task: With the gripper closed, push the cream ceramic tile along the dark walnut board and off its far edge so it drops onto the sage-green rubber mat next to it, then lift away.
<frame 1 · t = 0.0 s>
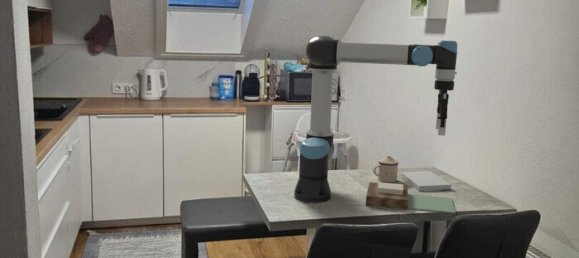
hand: (440, 132, 213), 28 cm above the table, tool pointing down, fingers open, 13 cm apart
ceramic tile: (390, 190, 213), point 4 cm above the table, touching walnut board
rubber mat: (430, 204, 211), on the table
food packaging: (424, 185, 239), on the table
walnut board: (387, 200, 214), on the table
teacup with lid: (384, 180, 243), on the table
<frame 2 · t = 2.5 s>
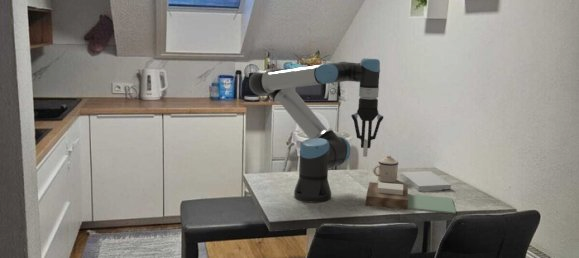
hand: (365, 155, 213), 18 cm above the table, tool pointing down, fingers closed
nothing on the table moved.
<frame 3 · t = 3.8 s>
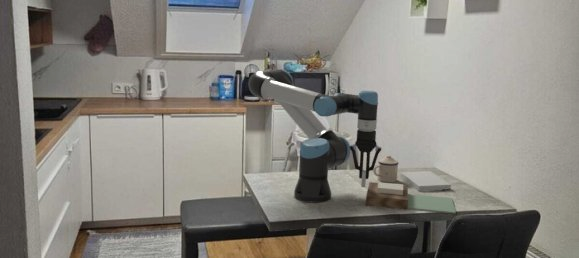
hand: (363, 186, 215), 5 cm above the table, tool pointing down, fingers closed
nothing on the table moved.
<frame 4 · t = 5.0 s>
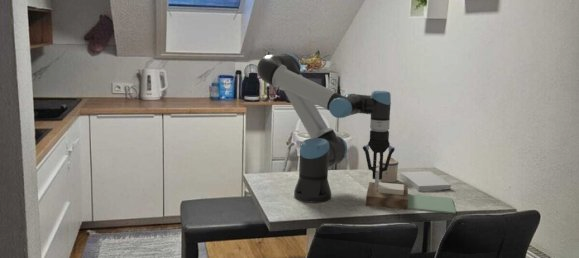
hand: (376, 186, 214), 5 cm above the table, tool pointing down, fingers closed
ceramic tile: (390, 190, 213), point 4 cm above the table, touching gripper, walnut board
everything else where it was.
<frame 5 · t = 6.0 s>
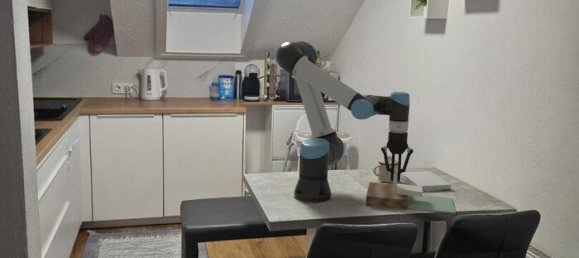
hand: (394, 188, 213), 5 cm above the table, tool pointing down, fingers closed
ceramic tile: (408, 192, 212), point 4 cm above the table, touching gripper, walnut board
everything else where it was.
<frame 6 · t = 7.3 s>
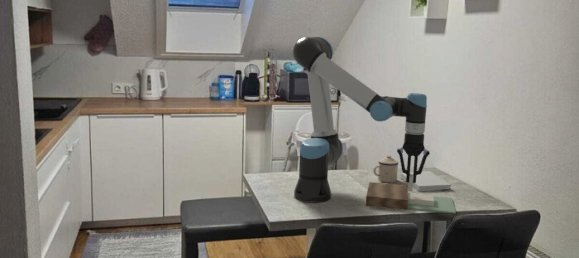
hand: (410, 190, 212), 5 cm above the table, tool pointing down, fingers closed
ceramic tile: (420, 201, 212), point 1 cm above the table, touching rubber mat
everything else where it was.
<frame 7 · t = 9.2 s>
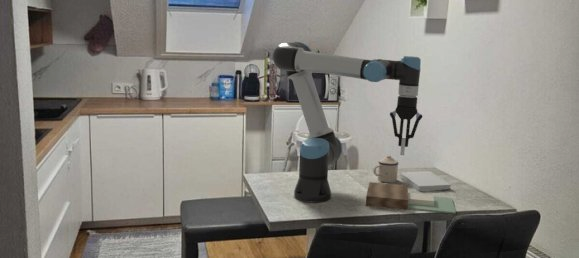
hand: (402, 154, 211), 19 cm above the table, tool pointing down, fingers closed
nothing on the table moved.
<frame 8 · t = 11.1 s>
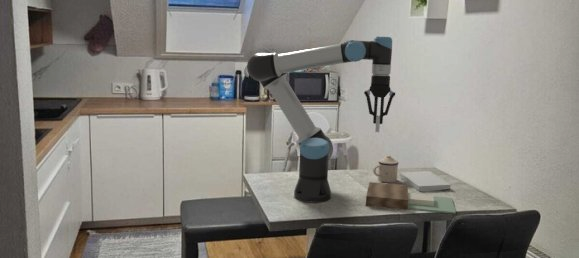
hand: (377, 131, 219), 26 cm above the table, tool pointing down, fingers closed
nothing on the table moved.
at the end: ceramic tile inside the target area on the rubber mat (3.8 cm from its centre), point 0.6 cm above the rubber mat's base; ceramic tile point 0.6 cm above the table; ceramic tile touching rubber mat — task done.
